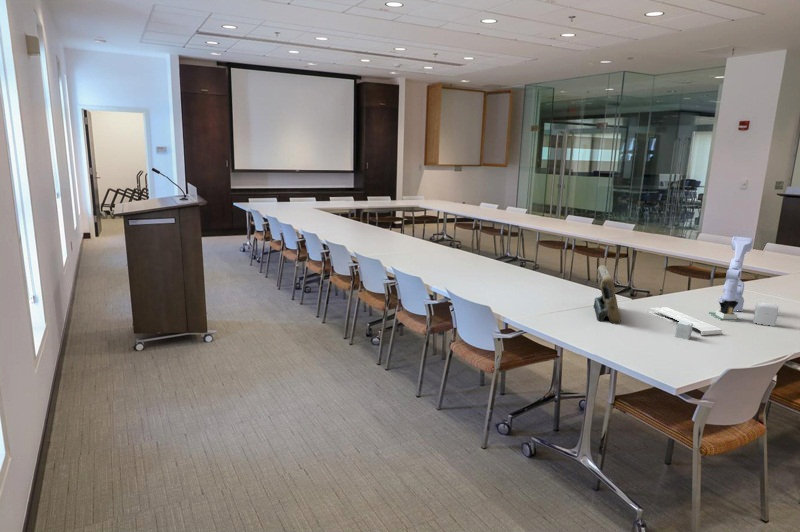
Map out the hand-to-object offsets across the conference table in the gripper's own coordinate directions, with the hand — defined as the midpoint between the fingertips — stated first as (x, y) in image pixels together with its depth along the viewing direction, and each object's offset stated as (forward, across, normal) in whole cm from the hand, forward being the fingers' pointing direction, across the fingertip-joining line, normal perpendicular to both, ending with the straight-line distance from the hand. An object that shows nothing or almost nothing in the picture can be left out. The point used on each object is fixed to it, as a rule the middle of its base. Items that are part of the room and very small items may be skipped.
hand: (726, 313), depth 291 cm
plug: (+2, 0, 0) cm, 2 cm away
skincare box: (+3, +51, +14) cm, 53 cm away
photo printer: (+3, -11, +14) cm, 18 cm away
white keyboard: (+3, +32, -2) cm, 32 cm away
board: (+3, -1, -2) cm, 4 cm away
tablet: (+3, +62, -26) cm, 68 cm away
